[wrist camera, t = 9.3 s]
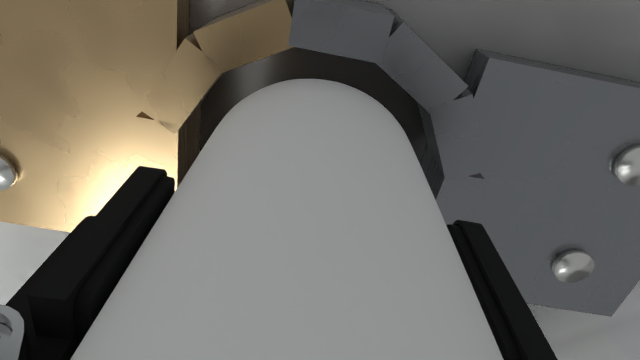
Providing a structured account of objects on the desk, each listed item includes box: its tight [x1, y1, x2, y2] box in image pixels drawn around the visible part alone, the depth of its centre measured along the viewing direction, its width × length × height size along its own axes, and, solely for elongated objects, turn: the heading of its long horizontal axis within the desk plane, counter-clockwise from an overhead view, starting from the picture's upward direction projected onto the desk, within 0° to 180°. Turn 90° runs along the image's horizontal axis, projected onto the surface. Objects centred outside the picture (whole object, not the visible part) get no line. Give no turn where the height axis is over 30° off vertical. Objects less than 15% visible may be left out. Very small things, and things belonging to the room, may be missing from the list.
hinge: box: [0, 0, 640, 316], centre depth 14 cm, size 10×27×2 cm, turn 79°
